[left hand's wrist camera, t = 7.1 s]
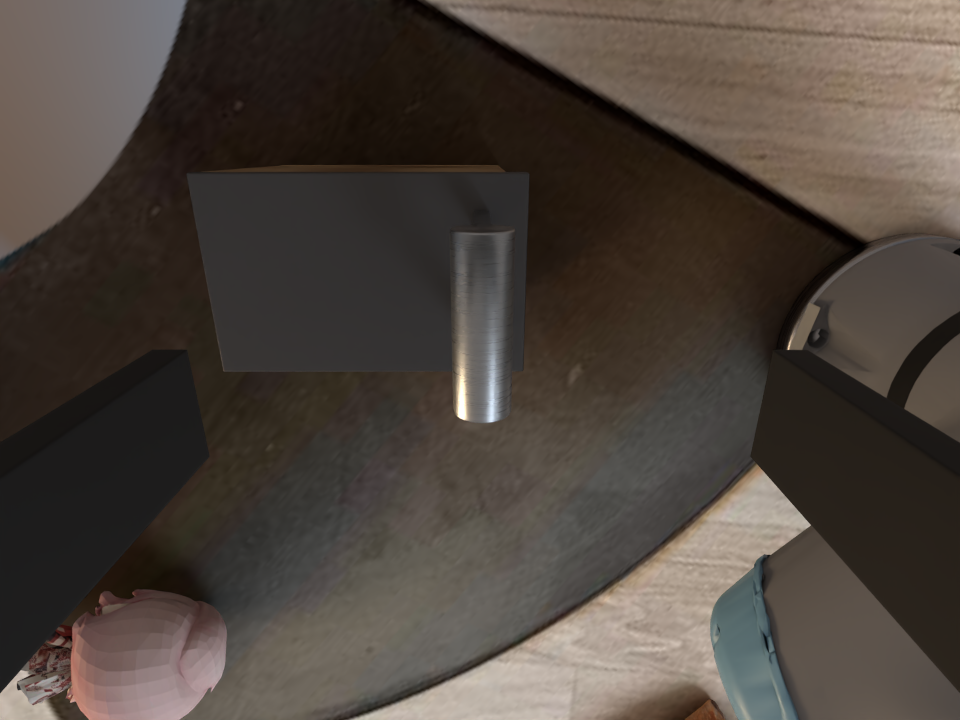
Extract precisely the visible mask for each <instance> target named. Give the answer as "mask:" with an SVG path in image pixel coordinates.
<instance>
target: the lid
mask: <svg viewBox="0 0 960 720" xmlns="http://www.w3.org/2000/svg"><path fill="white" fill-rule="evenodd" d="M187 180H188V185H189V191H190V196H191V201H192V207H193V212H194V217H195V223H196V228H197V233H198V238H199V244H200V249H201V254H202V260H203V265H204V270H205V276H206V281H207V286H208V292H209V297H210V302H211V308H212V313H213V318H214V323H215V329H216V334H217V339H218V345H219V350H220V355H221V361H222V366H223V371H452V373H453V411H454V413H455V415H456V416H457V417H459V418H460V419H462V420H465V421H468V422H473V423H491V422H496V421H499V420H502V419H504V418H506V417H507V416H508V415H509V414H510V412H511V388H512V371H523V361H524V329H525V298H526V266H527V235H528V203H529V173H527V172H191V173H187Z"/></svg>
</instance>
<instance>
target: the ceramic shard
mask: <svg viewBox="0 0 960 720" xmlns="http://www.w3.org/2000/svg"><path fill="white" fill-rule="evenodd" d="M684 720H726V719H725V717H724V715H723V713H722V712H721V711H720V710H719V707H718V705H717V704H716V703H715V701H713V700H710V699H709V700H707V701H706V702H705V703H704V704H703V705H702V706H701V707H700V708H699V709H697V710H696V711H695V712H693V713H692V714H691V715H690V716H688V717H687V718H686V719H684Z"/></svg>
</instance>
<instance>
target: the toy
mask: <svg viewBox="0 0 960 720" xmlns="http://www.w3.org/2000/svg"><path fill="white" fill-rule="evenodd" d="M132 593H133V595H134V596H135V597H133V598H131V599H124V598H119V597H115V596H114V595H113V594H112V593H111V592H110V591H104V592H103V593H102V594H101V596H100V600H99V603H100V607H99V606H96V609H95V612H96V615H97V616H94V615H92V614H91V613H89V612H86V613H85V614H83V615H82V616H81V617H80V618H79V619H77V620H76V622H75V623H74V625H73V627H70V626H66V625H60V626H59V627H58V628H57V629H56V631H55V632H54V633H53V634H52V635H51V636H50V637H49V639H48V640H47V641H46V642H45V643H44V644H43V645H42V646H41V648H40V649H39V650H38V651H37V652H36V653H35V654H34V655H33V657H32V658H31V659H30V660H29V661H28V662H27V663H26V665H25V666H24V667H23V668H22V669H21V670H24V671H29V674H32V675H30V676H28V677H26V678H24V679H22V680H20V681H18V682H17V689H18V690H22V691H23V693H24V694H25V695H26V696H27V698H28V701H29V703H30V704H32V705H35V704H37V703H43V702H44V700H46V699H48V698H50V697H52V696H54V695H56V694H58V693H60V692H61V691H63V690H65V689H67V688H68V687H70V686H71V687H70V688H69V689H68V692H67V697H66V698H68V699H69V700H71V701H70V703H71V702H74V701H76V702H77V705H78V707H79V708H80V710H81V711H82V712H83V713H84V714H85V715H86V716H87V718H88V719H89V720H179V719H181V718H182V717H183V716H185V715H186V714H188V713H189V712H190V711H191V710H192V709H193V708H194V707H195V706H196V705H197V704H198V702H199V701H200V700H201V699H202V697H203V696H204V695H205V693H206V691H207V689H208V688H210V687H211V691H212V690H213V688H214V687H215V685H216V684H217V682H218V681H219V680H220V678H221V676H222V673H223V670H224V666H225V655H226V639H227V629H226V626H225V623H224V620H223V619H222V617H221V615H220V613H219V612H218V611H217V610H216V609H215V608H214V607H213V606H212V605H210V604H207V603H205V602H202V601H194V600H192V599H190V598H188V597H185V596H183V595H179V594H175V593H171V592H164V591H156V590H147V589H142V590H140V589H137V590H135V591H134V592H132Z"/></svg>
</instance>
